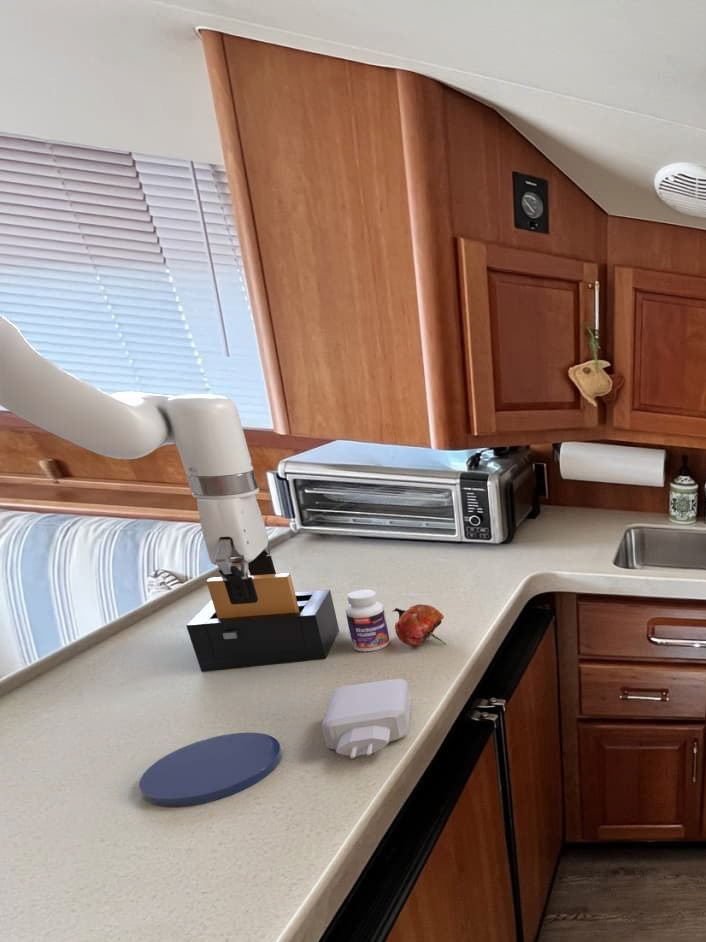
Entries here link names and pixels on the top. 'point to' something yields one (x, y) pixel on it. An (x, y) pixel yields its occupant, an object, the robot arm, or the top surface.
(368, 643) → the pill bottle
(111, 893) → the top surface
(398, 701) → the charger
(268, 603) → the toast
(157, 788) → the plate
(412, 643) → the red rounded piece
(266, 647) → the toaster
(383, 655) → the top surface
